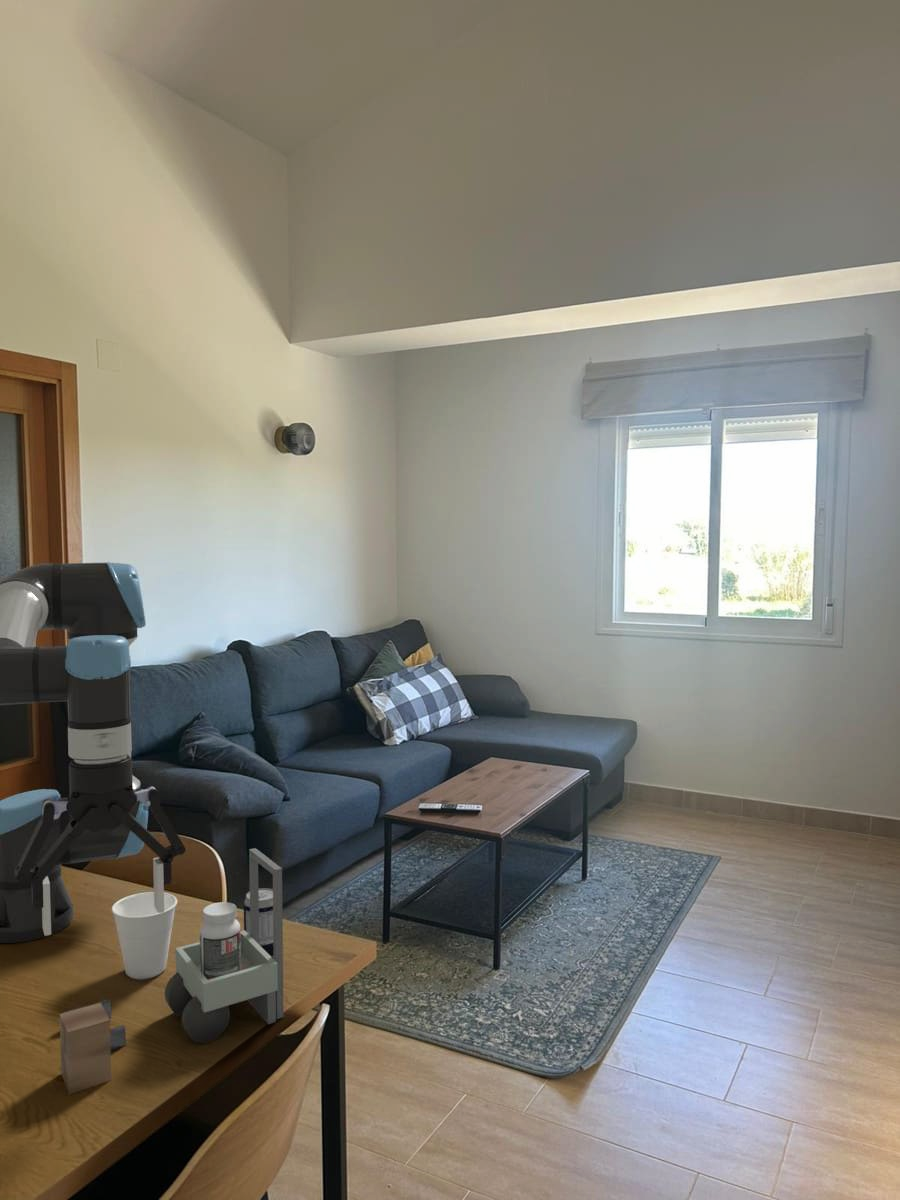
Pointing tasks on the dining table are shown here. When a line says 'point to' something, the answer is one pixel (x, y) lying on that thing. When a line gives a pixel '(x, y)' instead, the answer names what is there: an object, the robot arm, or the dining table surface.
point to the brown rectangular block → (85, 1047)
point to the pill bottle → (220, 941)
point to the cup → (144, 933)
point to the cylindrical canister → (262, 919)
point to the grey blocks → (115, 1033)
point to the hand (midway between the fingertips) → (104, 920)
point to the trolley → (255, 982)
